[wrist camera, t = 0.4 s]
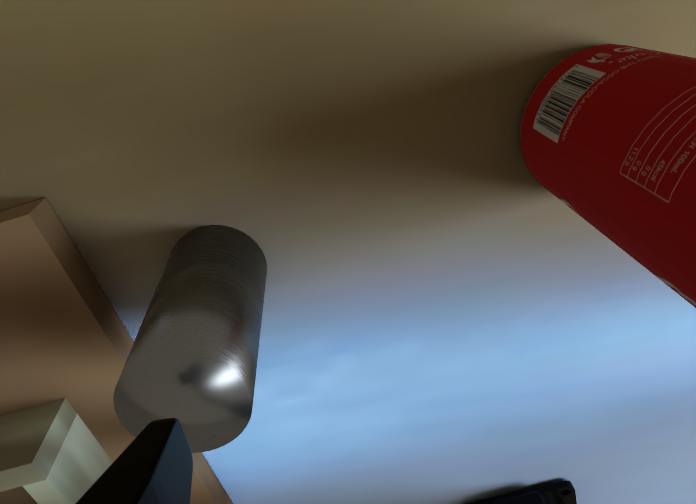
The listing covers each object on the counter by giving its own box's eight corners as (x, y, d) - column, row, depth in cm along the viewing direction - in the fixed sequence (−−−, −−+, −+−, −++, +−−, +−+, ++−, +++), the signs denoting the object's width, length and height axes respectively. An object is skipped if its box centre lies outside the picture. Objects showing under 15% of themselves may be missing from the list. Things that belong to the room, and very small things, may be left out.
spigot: (280, 292, 24) (271, 434, 17) (193, 317, 25) (150, 465, 18) (246, 213, 22) (221, 336, 16) (153, 241, 23) (87, 373, 16)
